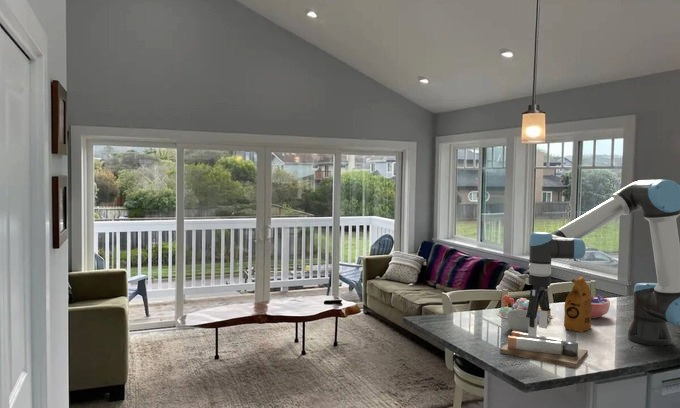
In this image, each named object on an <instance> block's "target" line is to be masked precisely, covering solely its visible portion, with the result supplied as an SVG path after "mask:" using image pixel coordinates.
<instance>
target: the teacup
mask: <svg viewBox="0 0 680 408" xmlns="http://www.w3.org/2000/svg"><path fill="white" fill-rule="evenodd" d="M526 315H527V310H517V309H513V310H511V311H508V312H507V316H508V319H507V325H508V327H509V329H510V330H512V331H517V332H522V333H528V323H529V318H528V317H526Z"/></svg>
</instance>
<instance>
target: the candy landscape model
mask: <svg viewBox="0 0 680 408" xmlns="http://www.w3.org/2000/svg"><path fill="white" fill-rule="evenodd" d="M501 299H502V304H503V307H502V306H501V307H500V308H499V310H498V311H497V312H496V315H497V316H498V317H500V318H502V319H505V318H506V320H508V316H507V312H508V311H511V310H513V309H517V310H527V311H528V305H529V299H527V298H524V297H520V298H518V299H516V301H515V299H514V298H513V297H511V295H509V294H504V295H503V296H502V298H501ZM509 305H511V308H510V307H509ZM540 310H541V308H540V305H539V307H538V311H537V316H536V318H537V323H539V315H540ZM551 311H552V309H551V308H550V311H548V315H547V322H550V321H551V318H553V316H552V314H551ZM551 322H552V321H551Z"/></svg>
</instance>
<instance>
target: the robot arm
mask: <svg viewBox="0 0 680 408" xmlns="http://www.w3.org/2000/svg"><path fill="white" fill-rule="evenodd" d="M636 211H642V216H643V218H644V219H645V220H646V221H648V224H649V225H648V226H649V230H650V238H651V245H652V253H653V260H654V266H655V273H656V281H657V282H639V283H638V282H637V283H635V285H634V288H633V314H632V315H633V317H632V318H633V319H632V322H631V324H630V327H629V328H628V330H627V338H628V340H631V341H633V342H635V343H639V344H643V345H647V346H654V345H655V346H656V347H665V346H664V345H668V346H671V345H672V344H673V337H672V334H671V330H670V328H669V325H668V323H669V324H671V325H673V326H679V327H680V238H679V237H680V236H679V230H678V229H679V228H678V222H677V219H678V218H679V217H680V184H679V183H677V182H676V181H674V180H671V179H664V178H661V179H659V178H658V179H657V178H656V179H640V180H637V181H636V180H635V181H633V182H631V183H629V184H628V185H626V186H623V187H622V188H621V189H619V190H618V191H616V192H615V191H614V193H612V194H610V198H608V199H607V200H605V201H604V202H602V203H600V204H599V205H597V206H596V207H593V208H592V209H590V210H588V211H587V212H586V213H584V214H582V215H580V216H579V217H577V218H575V219H574V220H572V221H570V222H568V223H567V224H565V225H563V226H562V227H560V228H558V229H556V230H554V231H552V232H543V231H535V232H534V231H533V232H532V233H530V237H529V261H528V262H529V263H528V264H527V267H528V273H529V274H528V284H529V285H530V286H533V289H530V291H529V299H528V300H529V305H528V311H527V315H526V317H528V318H529V323H528V332H527V333H528V335H529V336H534V337H536V335H538V334H537V332H538V329H537V327H539V328H540V329H547V328H548V321H547V315H548V311H550V309H551V308H550V301H549V291H548V290H549V287H550V286H551V279H552V278H551V274H552V259H558V260H559V259H561V260H562V259H566V260H567V259H568V260H570V259H571V260H576V259H577V260H579V259H580V260H581V259H582V258H584V257H585V255H586V250H587V249H586V244H585V242H584V240H583V238H585V237H587V236H588V235H589V234H591V233H593V232H595V231H596V230H599V229H600V228H602V227H603V226H606V225H607V224H608V223H610V222H612V221H614V220H615V219H617V218H619V217H620V216H622V215H623V216H627V215H629V214H631V213H633V212H636ZM539 305H540V308H541V310H540V315H539V322H537V318H536V316H537V311H538V307H539ZM550 312H551V311H550ZM538 324H539V325H538ZM670 344H671V345H670ZM655 346H654V347H655Z"/></svg>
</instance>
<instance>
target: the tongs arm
mask: <svg viewBox="0 0 680 408" xmlns="http://www.w3.org/2000/svg"><path fill="white" fill-rule="evenodd" d="M507 343H508V348H509V349H519V350H527V351H535V352H543V353H551V354H559V355H561V342H557V341H548V340H540V339H531V338H522V337H515V336H511V335H508V336H507Z"/></svg>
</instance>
